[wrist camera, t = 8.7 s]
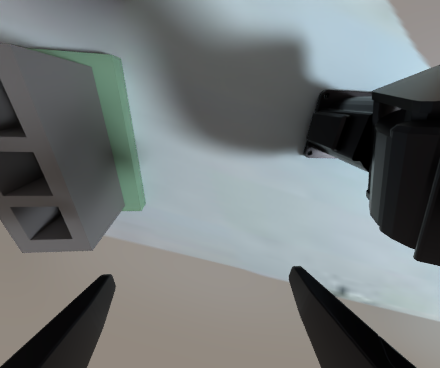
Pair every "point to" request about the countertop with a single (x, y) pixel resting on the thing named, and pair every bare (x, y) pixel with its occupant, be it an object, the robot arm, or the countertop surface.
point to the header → (114, 120)
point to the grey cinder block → (54, 154)
